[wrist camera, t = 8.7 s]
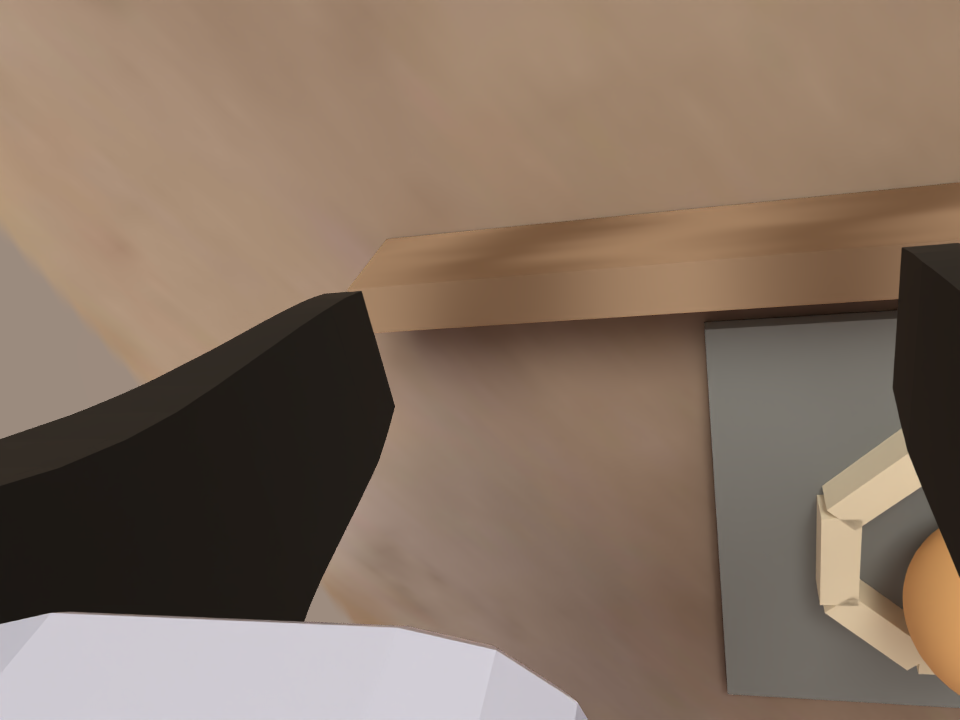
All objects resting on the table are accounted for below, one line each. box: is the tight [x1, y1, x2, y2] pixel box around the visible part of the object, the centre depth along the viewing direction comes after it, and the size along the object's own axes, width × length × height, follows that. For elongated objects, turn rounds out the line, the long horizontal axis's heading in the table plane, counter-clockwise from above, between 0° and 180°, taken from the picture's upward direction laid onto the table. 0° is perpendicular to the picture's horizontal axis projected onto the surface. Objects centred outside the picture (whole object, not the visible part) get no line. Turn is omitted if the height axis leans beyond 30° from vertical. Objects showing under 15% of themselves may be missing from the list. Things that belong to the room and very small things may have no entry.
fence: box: [348, 183, 960, 333], centre depth 18 cm, size 22×1×3 cm, turn 101°
